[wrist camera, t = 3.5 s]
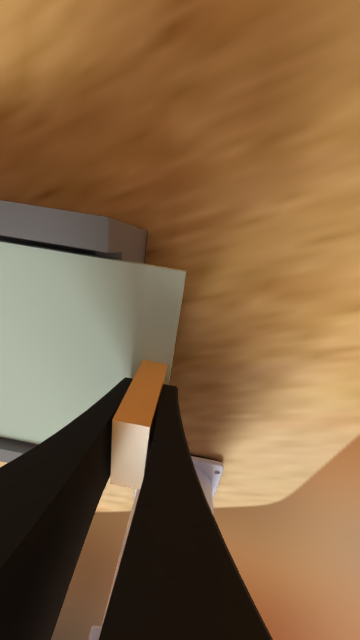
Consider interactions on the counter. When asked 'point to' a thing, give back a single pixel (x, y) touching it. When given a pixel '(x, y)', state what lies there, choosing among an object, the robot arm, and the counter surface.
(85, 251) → the parts tub
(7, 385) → the lid
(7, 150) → the counter surface
